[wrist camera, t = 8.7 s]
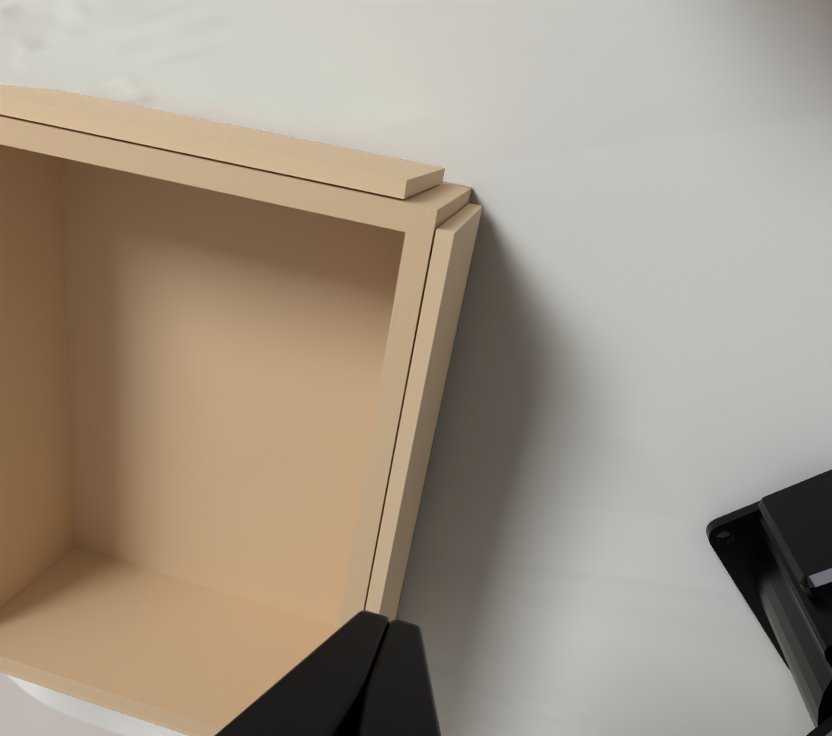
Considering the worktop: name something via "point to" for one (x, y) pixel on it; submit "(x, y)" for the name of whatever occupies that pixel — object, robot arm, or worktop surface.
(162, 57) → the worktop surface
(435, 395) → the carton
